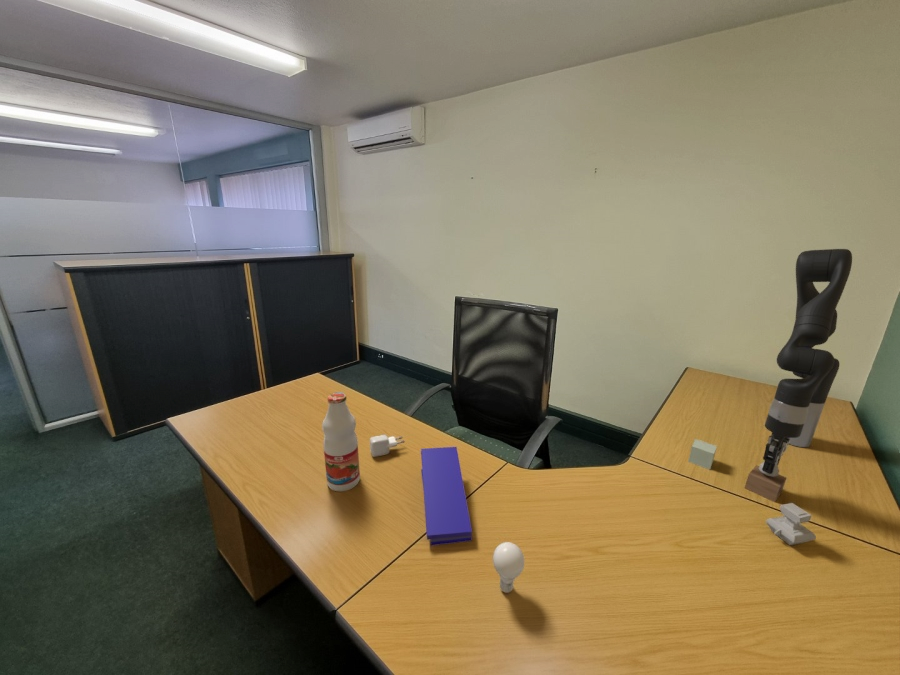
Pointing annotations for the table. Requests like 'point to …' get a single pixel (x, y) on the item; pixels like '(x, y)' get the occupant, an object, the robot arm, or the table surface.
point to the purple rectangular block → (444, 497)
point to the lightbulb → (508, 564)
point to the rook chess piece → (775, 471)
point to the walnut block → (765, 484)
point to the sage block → (702, 454)
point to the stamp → (791, 525)
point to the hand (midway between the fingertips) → (769, 468)
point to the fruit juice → (340, 445)
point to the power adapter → (382, 444)
